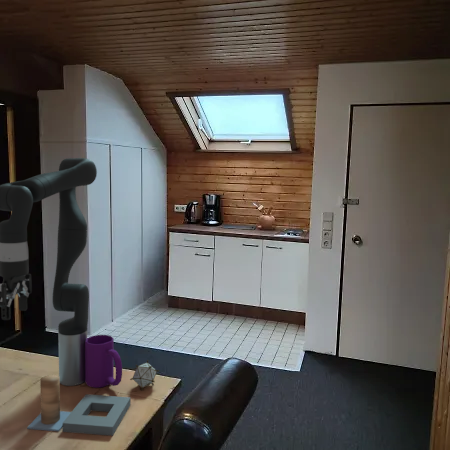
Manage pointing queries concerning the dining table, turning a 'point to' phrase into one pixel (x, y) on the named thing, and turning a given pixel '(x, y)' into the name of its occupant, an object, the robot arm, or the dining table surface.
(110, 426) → the board
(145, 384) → the game die
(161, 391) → the dining table surface
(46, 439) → the dining table surface
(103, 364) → the mug
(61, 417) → the pad
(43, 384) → the peg
